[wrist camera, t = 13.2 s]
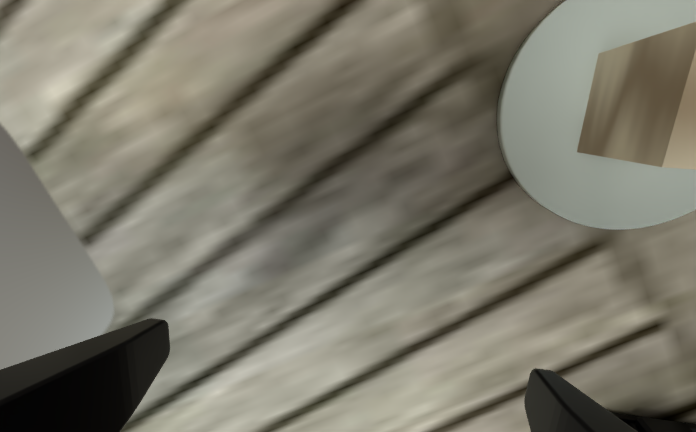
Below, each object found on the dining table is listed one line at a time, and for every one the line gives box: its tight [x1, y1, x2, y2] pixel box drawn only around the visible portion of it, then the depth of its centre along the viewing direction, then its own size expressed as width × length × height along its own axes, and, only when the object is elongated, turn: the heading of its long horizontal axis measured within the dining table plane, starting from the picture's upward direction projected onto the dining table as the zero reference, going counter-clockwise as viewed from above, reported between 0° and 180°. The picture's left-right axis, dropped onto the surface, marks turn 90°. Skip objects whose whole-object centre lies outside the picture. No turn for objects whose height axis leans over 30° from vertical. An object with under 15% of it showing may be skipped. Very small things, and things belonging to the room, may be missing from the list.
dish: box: [497, 0, 696, 230], centre depth 18 cm, size 12×12×1 cm
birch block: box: [577, 22, 696, 170], centre depth 14 cm, size 4×4×6 cm
